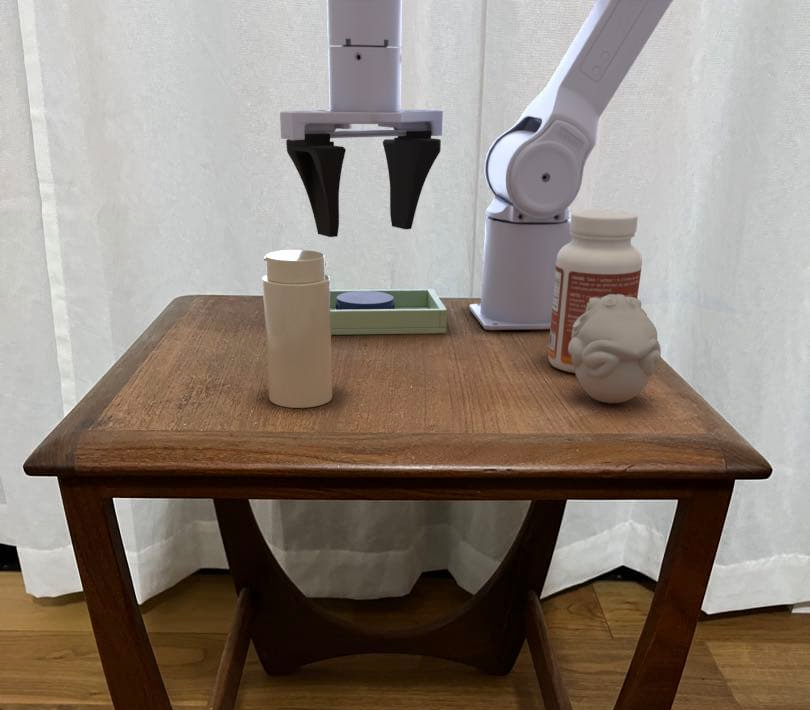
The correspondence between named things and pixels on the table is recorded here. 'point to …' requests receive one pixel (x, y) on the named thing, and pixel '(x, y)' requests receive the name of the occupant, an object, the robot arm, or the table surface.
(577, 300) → the pill bottle
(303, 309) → the jar
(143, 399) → the table surface
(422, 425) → the table surface
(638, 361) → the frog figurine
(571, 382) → the table surface
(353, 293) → the lid
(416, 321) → the tray
